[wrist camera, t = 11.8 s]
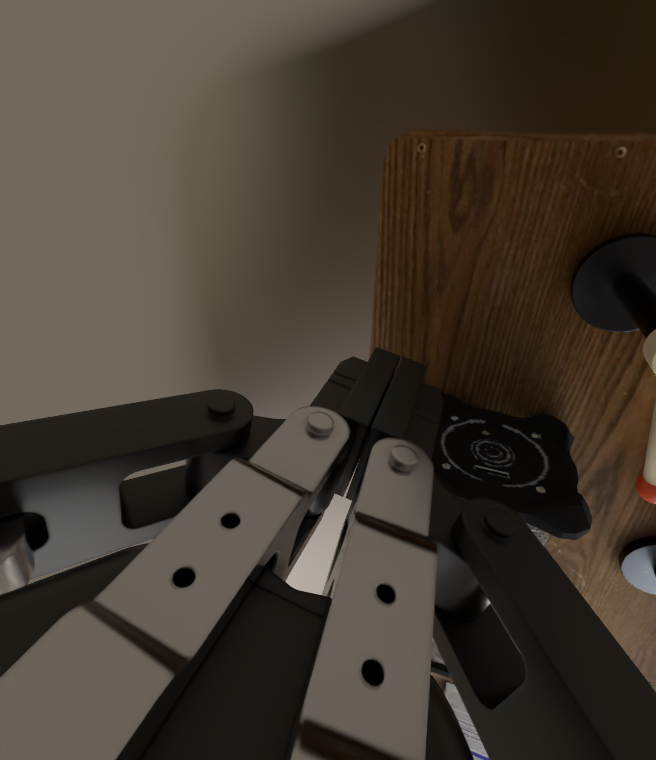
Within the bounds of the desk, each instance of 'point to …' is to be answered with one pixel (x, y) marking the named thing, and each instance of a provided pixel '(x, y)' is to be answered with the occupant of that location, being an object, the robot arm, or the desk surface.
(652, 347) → the rod
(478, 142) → the desk surface
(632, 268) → the stand
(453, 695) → the box
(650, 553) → the stand
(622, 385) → the desk surface
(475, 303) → the desk surface
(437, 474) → the speaker
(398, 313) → the desk surface
